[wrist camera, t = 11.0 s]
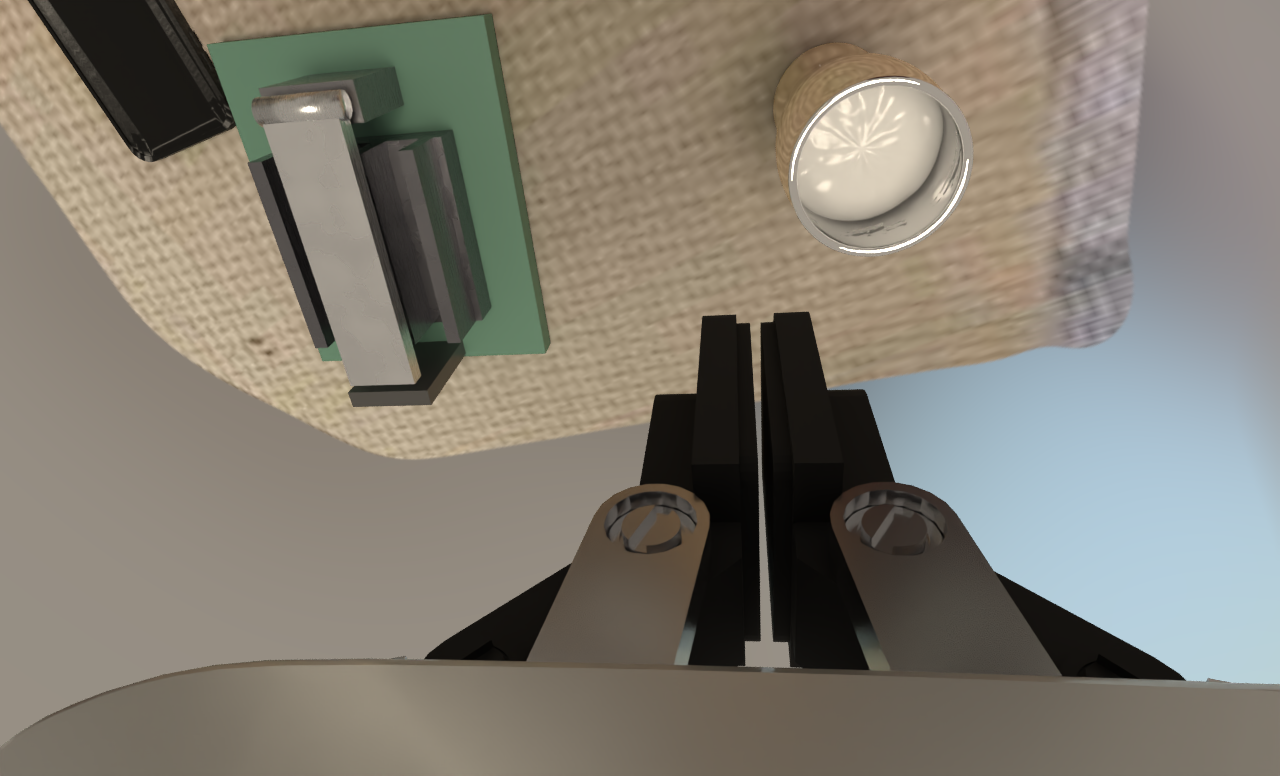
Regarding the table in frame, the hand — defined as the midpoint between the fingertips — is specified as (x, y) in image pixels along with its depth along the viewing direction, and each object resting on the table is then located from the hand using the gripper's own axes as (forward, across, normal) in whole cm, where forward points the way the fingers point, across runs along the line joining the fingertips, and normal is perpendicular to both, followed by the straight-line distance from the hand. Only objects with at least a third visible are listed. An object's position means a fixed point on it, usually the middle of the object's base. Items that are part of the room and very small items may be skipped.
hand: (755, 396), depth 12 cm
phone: (+33, +35, -7) cm, 48 cm away
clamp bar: (+25, +21, +5) cm, 33 cm away
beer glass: (+32, -5, +1) cm, 33 cm away
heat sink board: (+32, +21, +5) cm, 39 cm away
